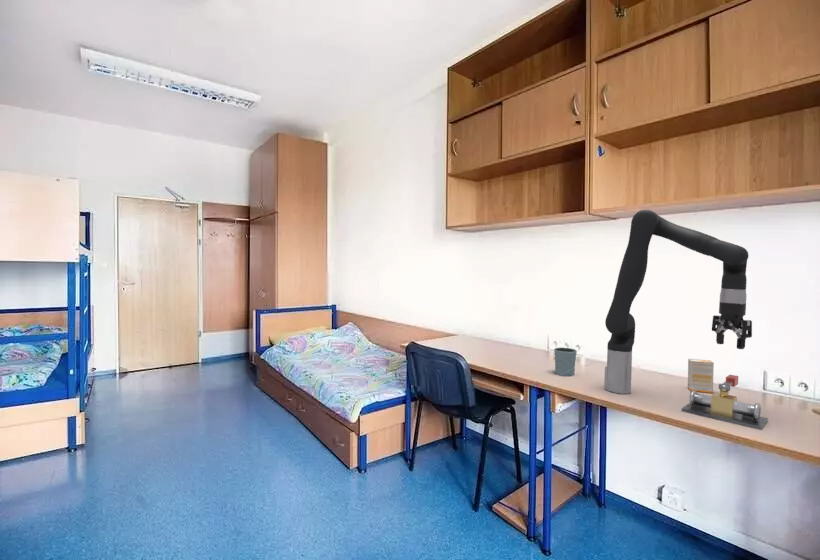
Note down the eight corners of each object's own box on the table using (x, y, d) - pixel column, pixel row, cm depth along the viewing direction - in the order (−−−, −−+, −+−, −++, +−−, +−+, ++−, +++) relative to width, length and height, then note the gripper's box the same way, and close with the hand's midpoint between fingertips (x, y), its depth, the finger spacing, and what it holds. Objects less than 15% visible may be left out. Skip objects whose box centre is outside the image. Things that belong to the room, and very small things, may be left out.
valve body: (681, 411, 147) (682, 386, 147) (691, 404, 155) (692, 380, 155) (761, 429, 131) (762, 401, 130) (767, 421, 139) (768, 394, 138)
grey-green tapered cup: (572, 372, 202) (573, 347, 202) (578, 377, 192) (579, 352, 192) (551, 371, 203) (552, 347, 203) (556, 376, 193) (557, 351, 193)
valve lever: (728, 392, 140) (729, 383, 140) (717, 390, 143) (717, 381, 143) (739, 384, 151) (739, 376, 151) (728, 382, 153) (728, 374, 153)
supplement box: (710, 390, 174) (711, 360, 173) (713, 393, 169) (714, 362, 169) (687, 388, 177) (688, 358, 177) (689, 391, 173) (690, 360, 172)
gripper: (707, 299, 154) (704, 342, 154) (740, 303, 139) (737, 350, 140) (725, 300, 154) (723, 342, 155) (760, 303, 140) (757, 350, 141)
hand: (729, 346), depth 147 cm, fingers open, 8 cm apart
